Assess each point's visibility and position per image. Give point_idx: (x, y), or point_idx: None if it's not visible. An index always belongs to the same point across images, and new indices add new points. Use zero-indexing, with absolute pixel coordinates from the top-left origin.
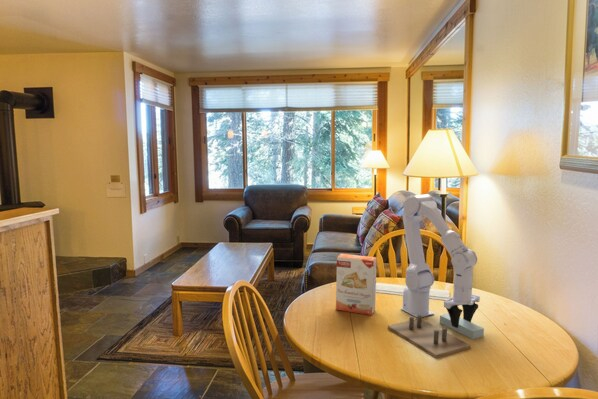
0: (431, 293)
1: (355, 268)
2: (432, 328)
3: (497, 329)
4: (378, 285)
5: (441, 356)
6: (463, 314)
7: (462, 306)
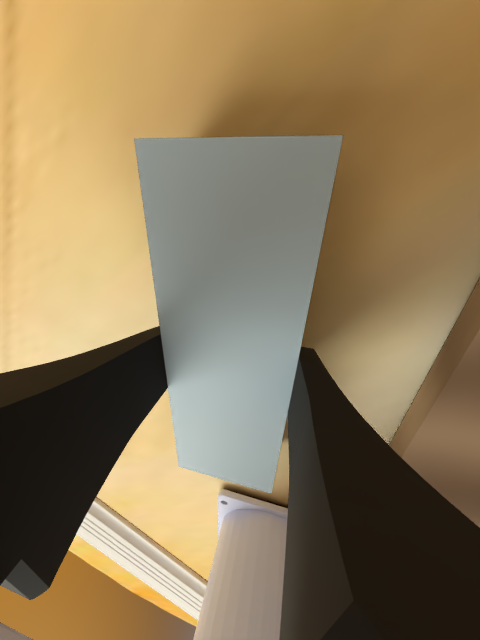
0: (103, 533)
1: None
2: (465, 448)
3: (15, 199)
4: None
5: None
6: (144, 417)
7: (87, 510)
